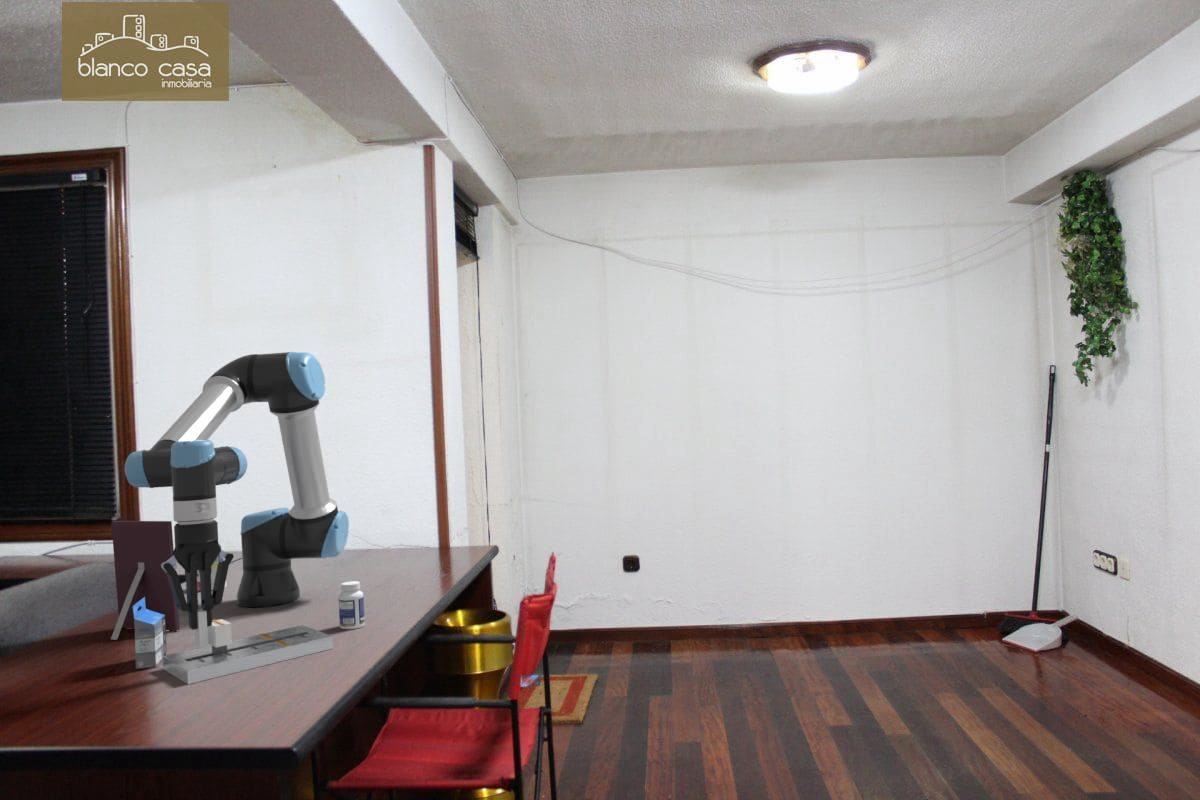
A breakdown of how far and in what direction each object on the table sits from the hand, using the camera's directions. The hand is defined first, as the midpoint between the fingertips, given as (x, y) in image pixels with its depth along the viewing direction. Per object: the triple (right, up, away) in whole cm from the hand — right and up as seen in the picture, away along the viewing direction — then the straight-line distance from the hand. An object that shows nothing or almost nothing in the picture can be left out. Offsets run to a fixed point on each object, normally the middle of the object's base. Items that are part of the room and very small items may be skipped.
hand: (201, 644), depth 165 cm
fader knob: (+3, -5, +2) cm, 6 cm away
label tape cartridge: (-13, -6, +7) cm, 16 cm away
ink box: (-33, -6, +76) cm, 83 cm away
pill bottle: (+21, -4, +28) cm, 35 cm away
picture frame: (-29, -6, +29) cm, 41 cm away
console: (+7, -5, +6) cm, 10 cm away
